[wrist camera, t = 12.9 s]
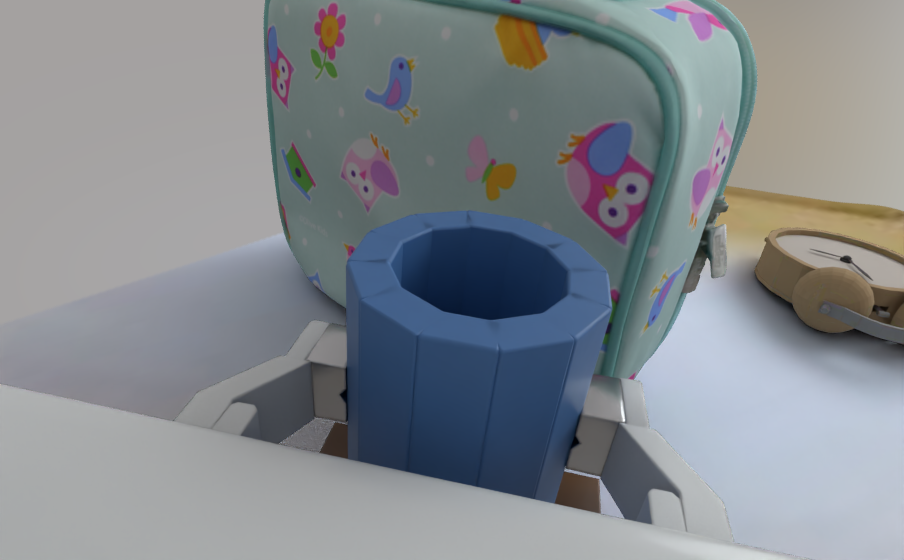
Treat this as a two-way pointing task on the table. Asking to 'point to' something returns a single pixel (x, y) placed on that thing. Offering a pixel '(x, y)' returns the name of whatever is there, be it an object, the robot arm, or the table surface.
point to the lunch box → (516, 133)
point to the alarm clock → (836, 281)
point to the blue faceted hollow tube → (471, 349)
